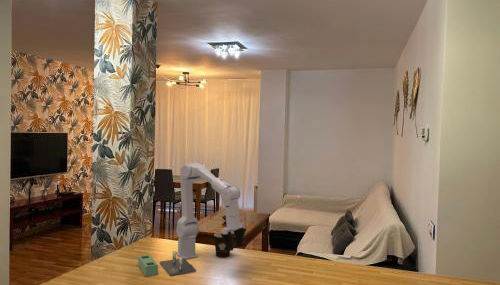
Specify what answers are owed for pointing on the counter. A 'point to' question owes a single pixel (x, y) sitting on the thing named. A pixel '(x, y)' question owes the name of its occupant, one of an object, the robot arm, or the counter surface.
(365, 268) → the counter surface
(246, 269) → the counter surface
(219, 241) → the coffee mug
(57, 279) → the counter surface
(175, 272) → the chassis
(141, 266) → the green block with holes
